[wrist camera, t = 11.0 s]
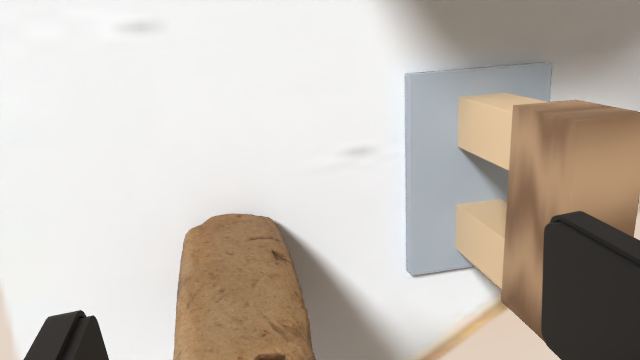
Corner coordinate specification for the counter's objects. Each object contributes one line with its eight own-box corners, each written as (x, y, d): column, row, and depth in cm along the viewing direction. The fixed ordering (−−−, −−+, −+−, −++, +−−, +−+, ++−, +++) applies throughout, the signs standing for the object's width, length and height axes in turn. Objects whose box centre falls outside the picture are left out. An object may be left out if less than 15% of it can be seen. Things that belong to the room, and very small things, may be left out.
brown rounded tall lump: (185, 204, 39) (160, 364, 20) (281, 206, 41) (341, 355, 22) (182, 328, 42) (159, 568, 23) (273, 325, 44) (319, 548, 25)
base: (404, 73, 40) (458, 85, 31) (543, 62, 42) (629, 71, 33) (406, 269, 45) (452, 326, 36) (529, 251, 47) (601, 301, 38)
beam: (513, 105, 32) (576, 121, 27) (576, 99, 33) (650, 114, 27) (501, 300, 36) (554, 350, 31) (557, 291, 37) (619, 338, 32)
